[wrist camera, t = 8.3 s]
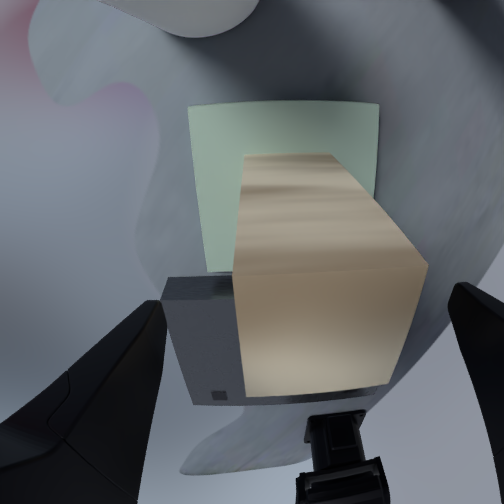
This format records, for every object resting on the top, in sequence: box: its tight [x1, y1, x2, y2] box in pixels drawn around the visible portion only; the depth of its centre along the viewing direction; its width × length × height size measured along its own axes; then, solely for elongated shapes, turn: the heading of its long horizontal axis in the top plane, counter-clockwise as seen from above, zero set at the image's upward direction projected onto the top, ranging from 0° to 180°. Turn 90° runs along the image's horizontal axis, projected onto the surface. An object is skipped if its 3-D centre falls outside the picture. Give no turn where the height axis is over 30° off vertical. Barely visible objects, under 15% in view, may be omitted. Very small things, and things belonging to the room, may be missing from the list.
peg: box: [232, 152, 429, 397], centre depth 12 cm, size 4×4×11 cm
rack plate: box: [160, 275, 378, 406], centre depth 23 cm, size 12×16×3 cm
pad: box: [188, 100, 379, 272], centre depth 18 cm, size 10×10×1 cm
